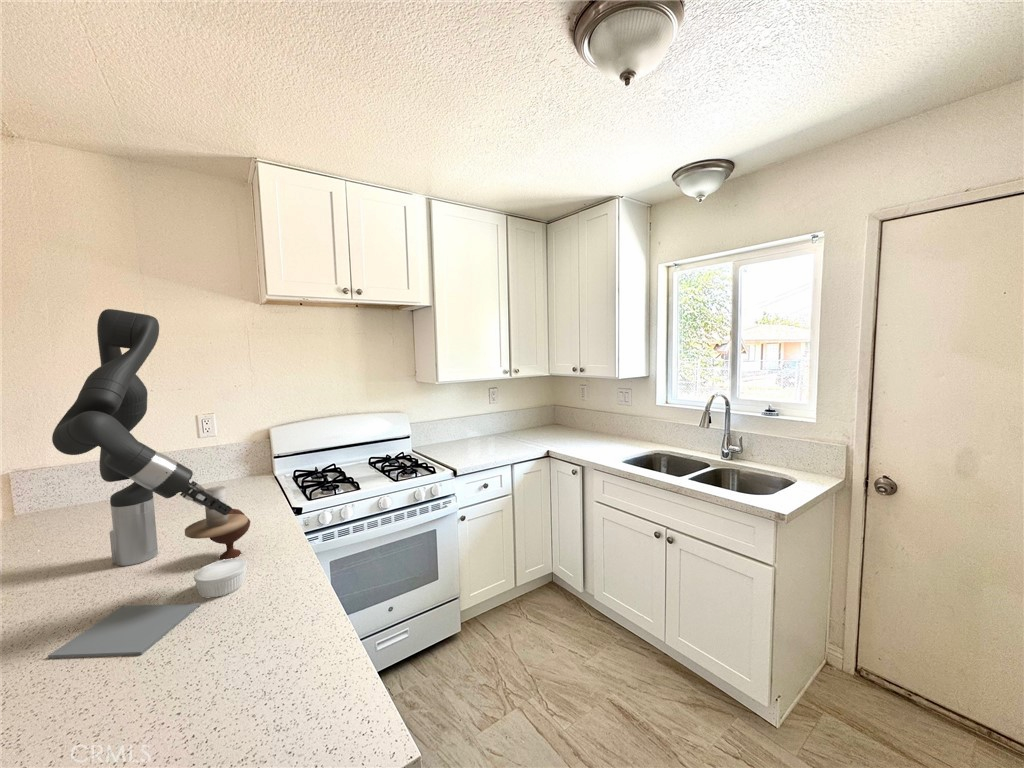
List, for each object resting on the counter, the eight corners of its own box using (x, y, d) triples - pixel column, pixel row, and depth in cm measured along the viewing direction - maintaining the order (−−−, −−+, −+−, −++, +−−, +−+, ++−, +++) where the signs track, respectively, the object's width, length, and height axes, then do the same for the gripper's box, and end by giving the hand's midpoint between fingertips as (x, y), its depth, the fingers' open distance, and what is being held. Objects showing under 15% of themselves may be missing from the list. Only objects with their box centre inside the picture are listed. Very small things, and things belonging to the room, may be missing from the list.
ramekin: (240, 572, 114) (239, 553, 113) (255, 586, 106) (254, 566, 106) (190, 590, 105) (188, 570, 105) (202, 607, 98) (200, 585, 97)
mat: (48, 658, 82) (48, 655, 82) (122, 608, 98) (122, 605, 98) (141, 654, 82) (141, 651, 82) (200, 605, 98) (199, 603, 98)
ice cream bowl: (230, 566, 117) (227, 514, 115) (198, 563, 119) (194, 512, 118) (260, 548, 127) (257, 501, 126) (230, 546, 129) (226, 499, 128)
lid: (170, 539, 98) (167, 498, 97) (209, 517, 111) (206, 481, 110) (226, 538, 98) (223, 497, 98) (258, 516, 111) (256, 480, 111)
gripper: (183, 465, 93) (247, 502, 103) (167, 456, 102) (227, 490, 112) (154, 495, 89) (223, 530, 100) (140, 482, 98) (205, 516, 109)
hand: (225, 509), depth 106 cm, fingers closed on lid, 4 cm apart
